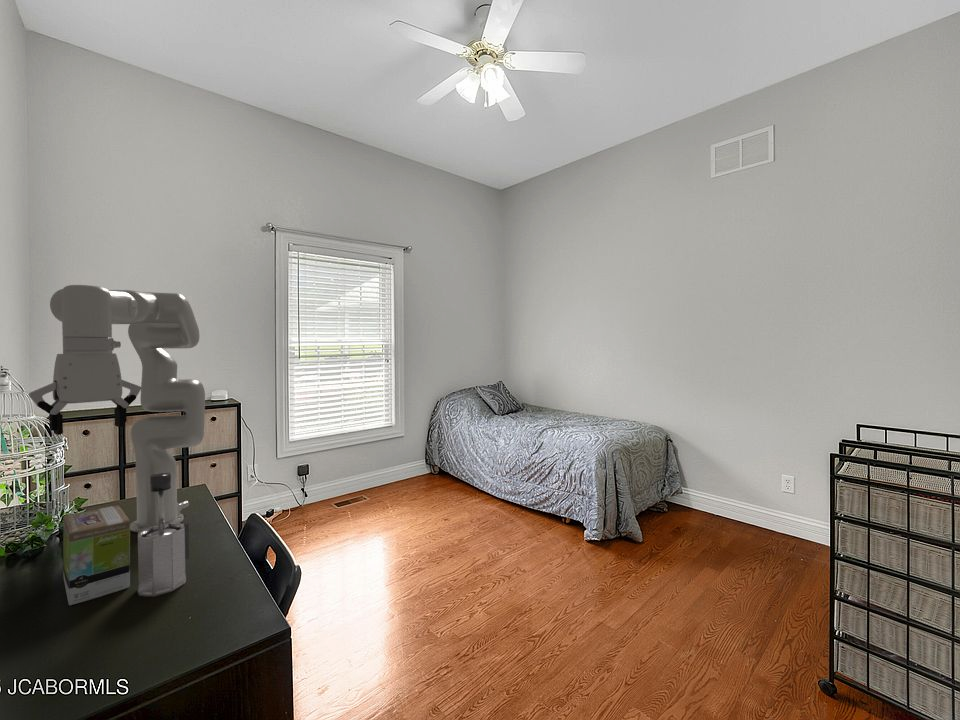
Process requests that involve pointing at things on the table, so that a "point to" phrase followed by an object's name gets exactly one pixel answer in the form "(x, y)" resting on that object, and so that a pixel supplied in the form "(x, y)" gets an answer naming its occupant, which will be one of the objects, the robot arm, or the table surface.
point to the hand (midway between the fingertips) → (90, 430)
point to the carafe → (162, 560)
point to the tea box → (96, 553)
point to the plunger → (160, 501)
